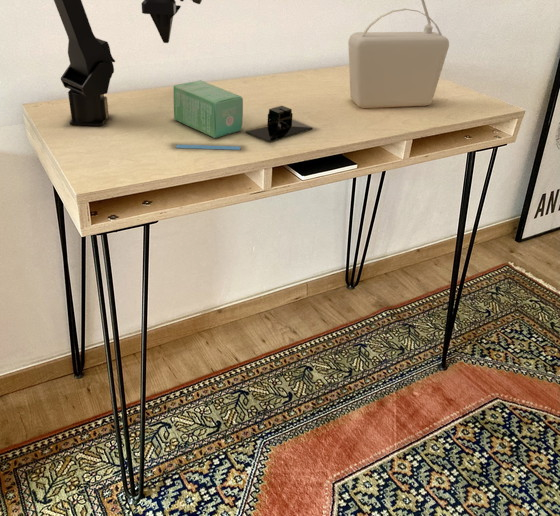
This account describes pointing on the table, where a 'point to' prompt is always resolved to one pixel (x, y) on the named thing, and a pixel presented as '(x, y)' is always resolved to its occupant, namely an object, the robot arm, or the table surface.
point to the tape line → (209, 147)
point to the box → (208, 108)
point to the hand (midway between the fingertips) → (166, 42)
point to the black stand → (279, 126)
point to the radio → (396, 66)
